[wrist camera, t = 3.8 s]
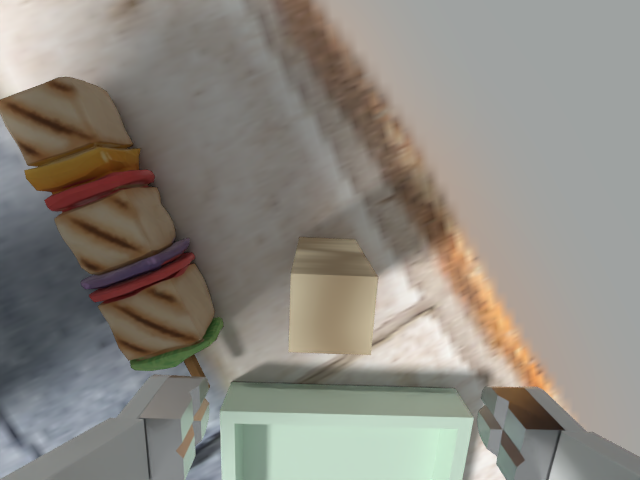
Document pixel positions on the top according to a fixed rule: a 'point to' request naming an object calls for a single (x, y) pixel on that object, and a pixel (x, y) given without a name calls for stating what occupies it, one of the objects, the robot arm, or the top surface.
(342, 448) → the tray
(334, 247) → the birch block
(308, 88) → the top surface
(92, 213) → the skewer
